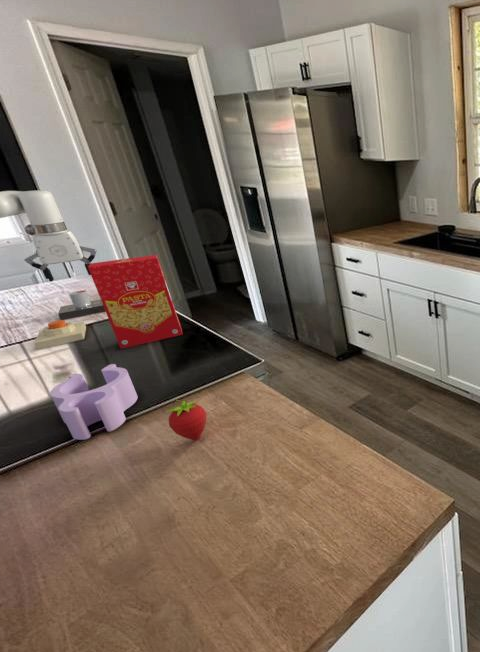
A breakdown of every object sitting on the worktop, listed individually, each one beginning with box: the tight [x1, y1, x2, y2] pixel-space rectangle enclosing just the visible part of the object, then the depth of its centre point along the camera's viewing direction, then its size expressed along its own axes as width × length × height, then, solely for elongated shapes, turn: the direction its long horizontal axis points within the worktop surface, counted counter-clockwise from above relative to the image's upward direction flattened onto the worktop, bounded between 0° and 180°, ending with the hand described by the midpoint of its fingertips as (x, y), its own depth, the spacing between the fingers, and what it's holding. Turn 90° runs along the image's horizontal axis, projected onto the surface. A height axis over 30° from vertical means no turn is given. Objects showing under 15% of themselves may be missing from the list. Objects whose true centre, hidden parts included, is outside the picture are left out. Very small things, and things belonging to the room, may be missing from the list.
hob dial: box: [68, 289, 91, 308], centre depth 147 cm, size 4×4×5 cm
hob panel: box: [57, 299, 106, 321], centre depth 148 cm, size 12×9×3 cm
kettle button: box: [47, 319, 66, 329], centre depth 127 cm, size 4×4×2 cm
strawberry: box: [164, 399, 207, 442], centre depth 81 cm, size 6×8×10 cm
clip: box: [49, 363, 138, 441], centre depth 91 cm, size 20×12×7 cm, turn 41°
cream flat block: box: [34, 321, 87, 350], centre depth 128 cm, size 12×10×4 cm
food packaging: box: [88, 254, 183, 349], centre depth 123 cm, size 15×5×25 cm, turn 129°
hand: (71, 277), depth 143 cm, fingers open, 9 cm apart
